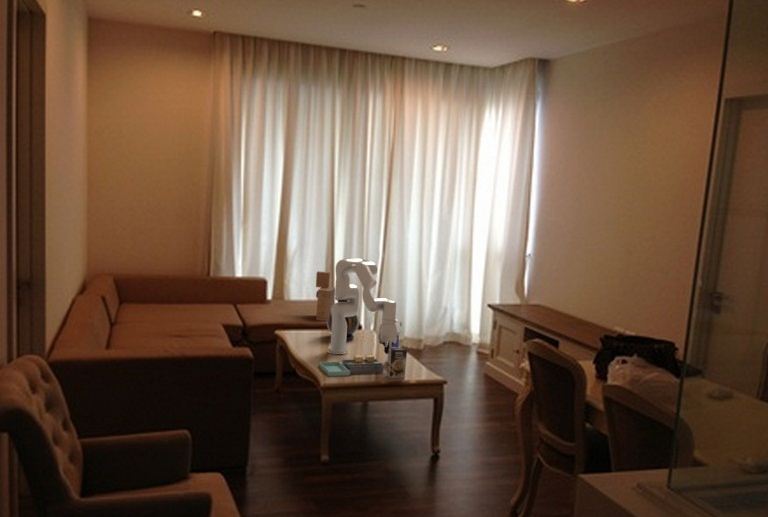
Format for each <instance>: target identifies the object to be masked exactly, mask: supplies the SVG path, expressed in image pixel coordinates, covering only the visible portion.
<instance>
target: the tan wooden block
mask: <svg viewBox="0 0 768 517" xmlns="http://www.w3.org/2000/svg"><path fill="white" fill-rule="evenodd" d="M364 359H365V362H366V363H374V359H375V356H374V355H373V354H366V355H365V358H364Z"/></svg>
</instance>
